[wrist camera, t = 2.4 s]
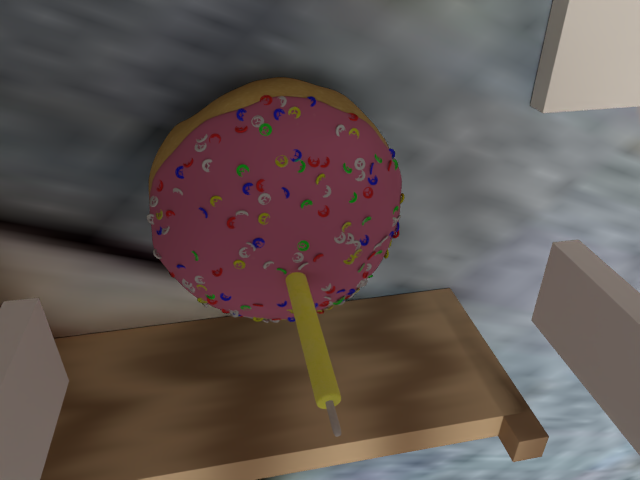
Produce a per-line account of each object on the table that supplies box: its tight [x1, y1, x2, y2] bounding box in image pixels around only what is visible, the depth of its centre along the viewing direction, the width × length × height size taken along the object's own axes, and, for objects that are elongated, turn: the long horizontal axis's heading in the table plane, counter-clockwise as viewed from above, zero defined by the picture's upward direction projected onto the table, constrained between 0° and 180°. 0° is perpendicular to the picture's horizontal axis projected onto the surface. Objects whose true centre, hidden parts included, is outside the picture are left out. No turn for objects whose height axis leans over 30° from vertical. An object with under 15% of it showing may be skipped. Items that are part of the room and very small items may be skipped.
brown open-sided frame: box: [40, 288, 549, 480], centre depth 17 cm, size 22×18×9 cm
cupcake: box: [147, 77, 404, 437], centre depth 16 cm, size 9×8×12 cm
